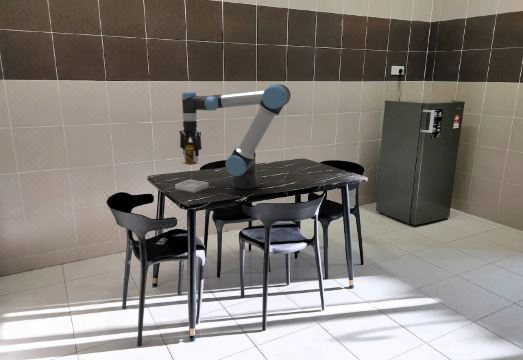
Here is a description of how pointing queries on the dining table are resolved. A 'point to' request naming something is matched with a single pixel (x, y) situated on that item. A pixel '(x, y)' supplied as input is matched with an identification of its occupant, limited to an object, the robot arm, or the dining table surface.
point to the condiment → (189, 154)
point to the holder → (192, 186)
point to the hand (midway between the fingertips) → (191, 161)
